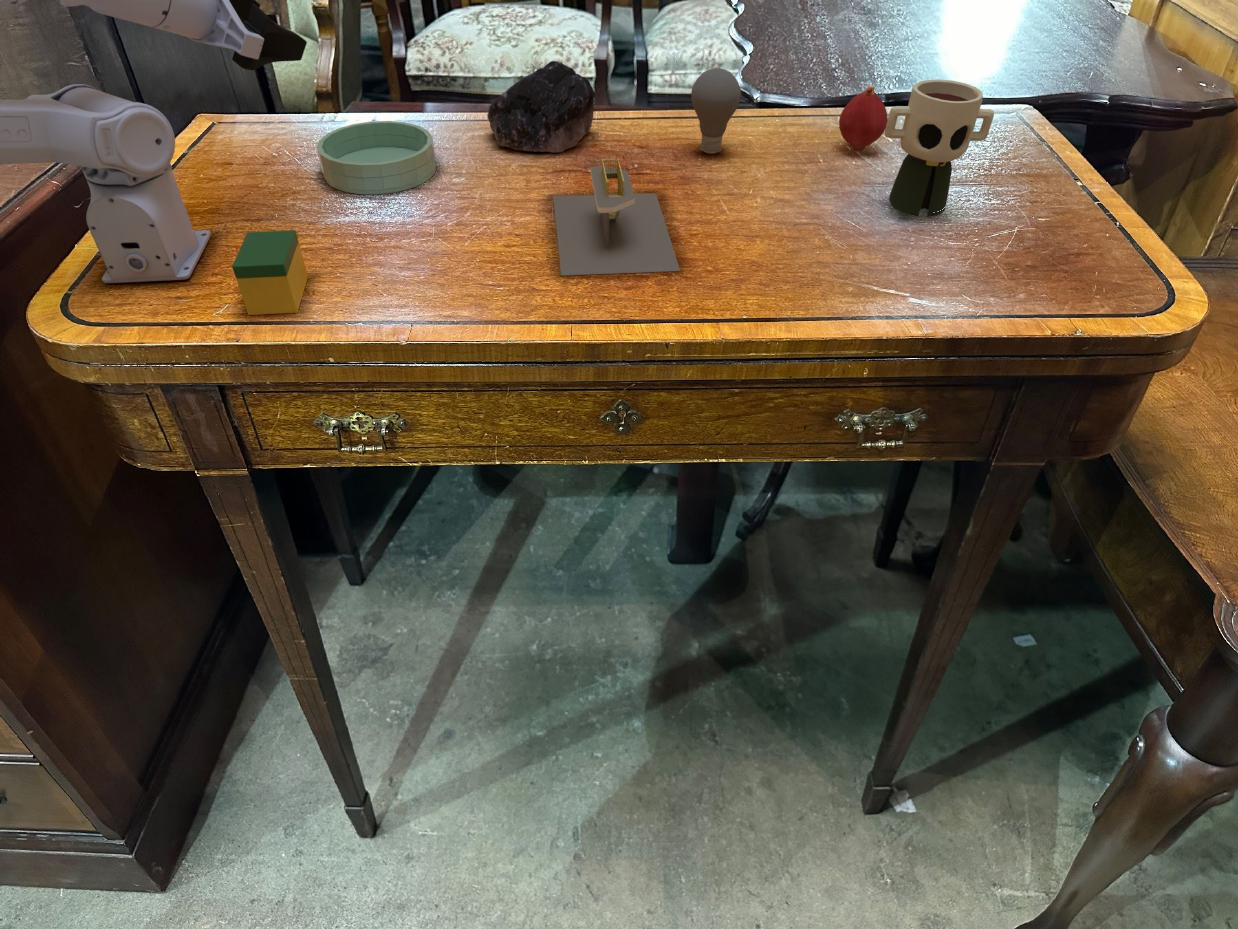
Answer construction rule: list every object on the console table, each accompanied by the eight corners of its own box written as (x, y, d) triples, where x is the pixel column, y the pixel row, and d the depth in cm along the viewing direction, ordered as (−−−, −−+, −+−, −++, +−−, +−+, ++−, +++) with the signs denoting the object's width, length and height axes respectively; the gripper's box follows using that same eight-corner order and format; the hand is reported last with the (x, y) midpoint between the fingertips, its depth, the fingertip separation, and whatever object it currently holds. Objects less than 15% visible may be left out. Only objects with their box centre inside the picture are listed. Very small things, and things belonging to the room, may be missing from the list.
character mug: (872, 221, 91) (902, 100, 82) (861, 193, 96) (888, 76, 87) (971, 225, 90) (1012, 104, 82) (955, 197, 96) (991, 80, 87)
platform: (655, 193, 95) (658, 136, 91) (680, 270, 82) (684, 209, 78) (553, 196, 94) (550, 138, 90) (561, 275, 81) (558, 213, 77)
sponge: (297, 312, 75) (283, 264, 72) (248, 315, 75) (231, 266, 72) (308, 277, 80) (295, 229, 77) (261, 279, 80) (246, 231, 76)
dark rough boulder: (474, 134, 109) (462, 57, 102) (561, 106, 114) (556, 31, 106) (523, 177, 102) (514, 98, 94) (613, 146, 107) (612, 68, 99)
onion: (825, 144, 107) (837, 79, 101) (864, 139, 108) (878, 75, 103) (847, 161, 103) (861, 95, 97) (888, 156, 104) (904, 91, 99)
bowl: (434, 192, 94) (429, 162, 92) (316, 196, 93) (309, 166, 91) (438, 147, 104) (434, 119, 102) (331, 150, 103) (325, 122, 100)
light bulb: (678, 147, 105) (684, 64, 98) (719, 140, 107) (727, 58, 100) (701, 165, 101) (708, 80, 94) (743, 157, 103) (753, 73, 96)
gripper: (212, -15, 69) (336, 27, 81) (114, -94, 73) (246, -43, 84) (190, 66, 72) (313, 95, 84) (97, -14, 76) (227, 25, 88)
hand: (278, 30), depth 84 cm, fingers open, 7 cm apart
